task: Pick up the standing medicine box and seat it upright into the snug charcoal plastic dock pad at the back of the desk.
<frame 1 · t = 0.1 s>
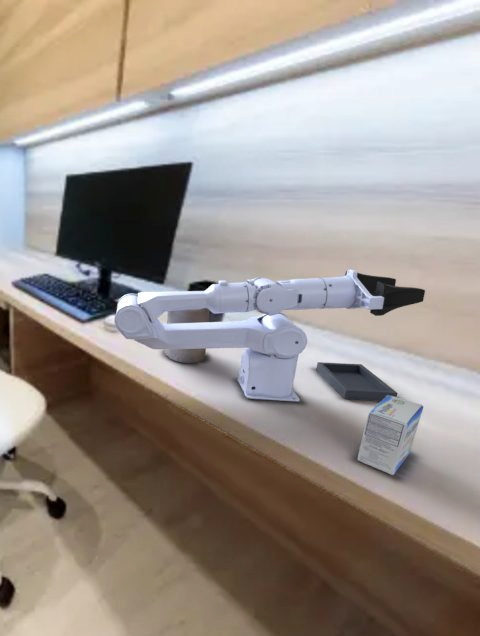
hand: (407, 289, 67), 22 cm above the table, tool horizontal, fingers open, 7 cm apart
pillar candle: (184, 355, 95), on the table
dock pad: (352, 384, 79), on the table
medicine box: (382, 458, 58), on the table
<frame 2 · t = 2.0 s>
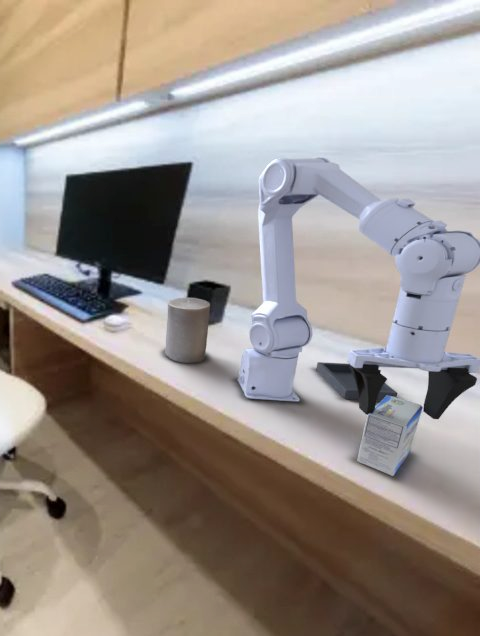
hand: (397, 413, 55), 8 cm above the table, tool pointing down, fingers open, 7 cm apart
medicine box: (382, 458, 58), on the table, touching gripper
everything else where it was.
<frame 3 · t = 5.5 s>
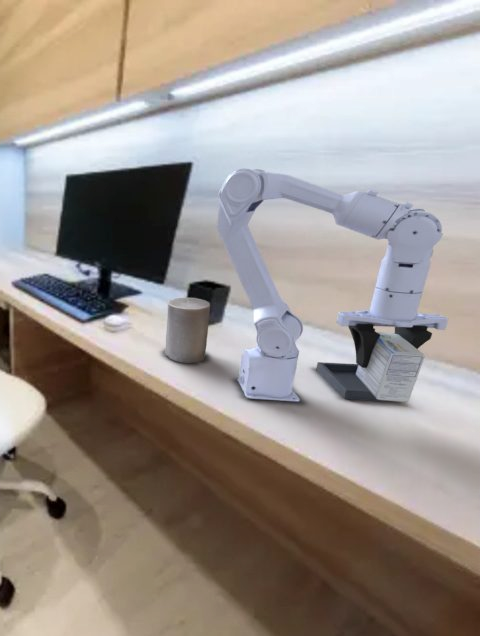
hand: (378, 366, 65), 10 cm above the table, tool pointing down, fingers closed on medicine box, 4 cm apart
medicine box: (379, 389, 64), point 7 cm above the table, touching gripper
everything else where it was.
when the fingers open (5 cm above the table, at t = 8.4 s): medicine box stays where it is, resting on dock pad.
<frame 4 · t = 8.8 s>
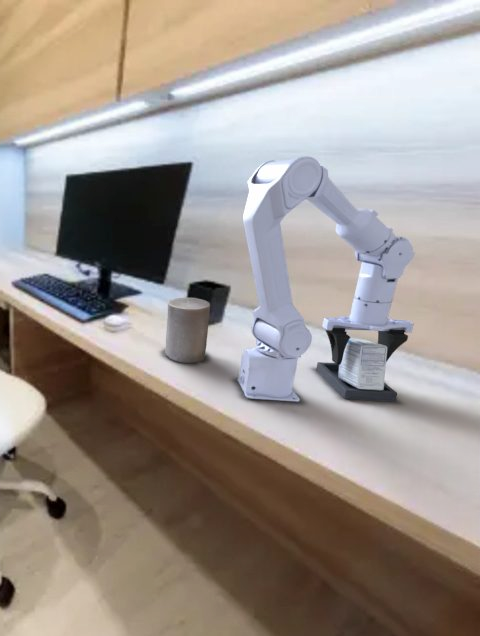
hand: (357, 363, 77), 5 cm above the table, tool pointing down, fingers open, 7 cm apart
medicine box: (359, 385, 76), point 1 cm above the table, touching dock pad
everything else where it was.
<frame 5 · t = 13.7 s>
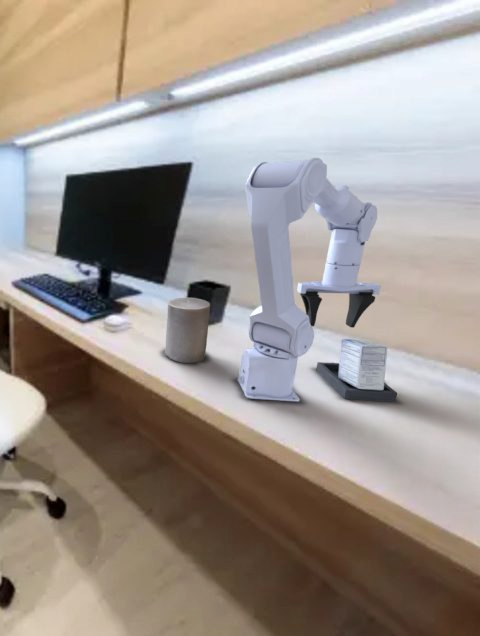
hand: (329, 325, 82), 10 cm above the table, tool pointing down, fingers open, 7 cm apart
nothing on the table moved.
at the end: medicine box 2.3 cm off-centre in the dock pad, point 1.0 cm above the dock pad's base; medicine box tilted 12°; the gripper is holding nothing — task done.
